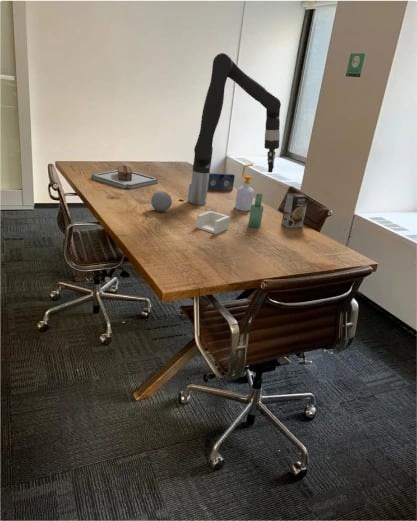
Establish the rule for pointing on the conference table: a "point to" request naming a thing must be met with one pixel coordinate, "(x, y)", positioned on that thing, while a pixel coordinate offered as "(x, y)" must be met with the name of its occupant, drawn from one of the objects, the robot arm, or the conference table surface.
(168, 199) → the decorative stone
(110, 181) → the grey square tray
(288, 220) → the coffee box
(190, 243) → the conference table surface
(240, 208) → the soap bottle
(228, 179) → the vhs cassette tape
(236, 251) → the conference table surface
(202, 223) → the u rest
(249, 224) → the green bottle
